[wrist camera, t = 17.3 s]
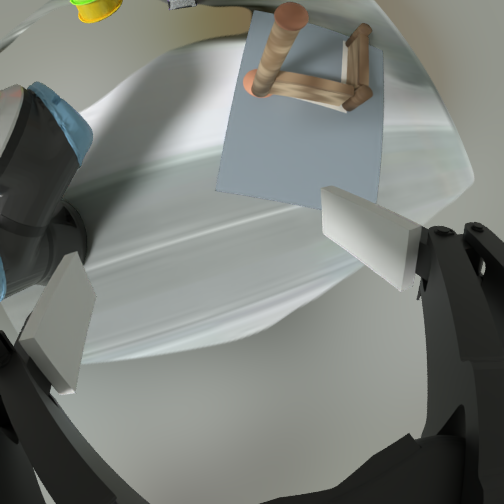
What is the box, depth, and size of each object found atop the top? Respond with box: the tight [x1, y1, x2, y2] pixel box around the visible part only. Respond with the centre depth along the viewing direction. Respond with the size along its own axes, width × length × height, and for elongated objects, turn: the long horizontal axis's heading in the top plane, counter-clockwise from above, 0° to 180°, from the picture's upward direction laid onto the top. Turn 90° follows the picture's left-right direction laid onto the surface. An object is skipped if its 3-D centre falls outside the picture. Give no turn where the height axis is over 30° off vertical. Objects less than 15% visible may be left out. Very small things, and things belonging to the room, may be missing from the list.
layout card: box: [216, 10, 384, 210], centre depth 44 cm, size 28×38×1 cm
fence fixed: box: [342, 23, 373, 112], centre depth 40 cm, size 2×18×7 cm, turn 171°
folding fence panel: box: [251, 2, 354, 106], centre depth 32 cm, size 16×4×22 cm, turn 86°
